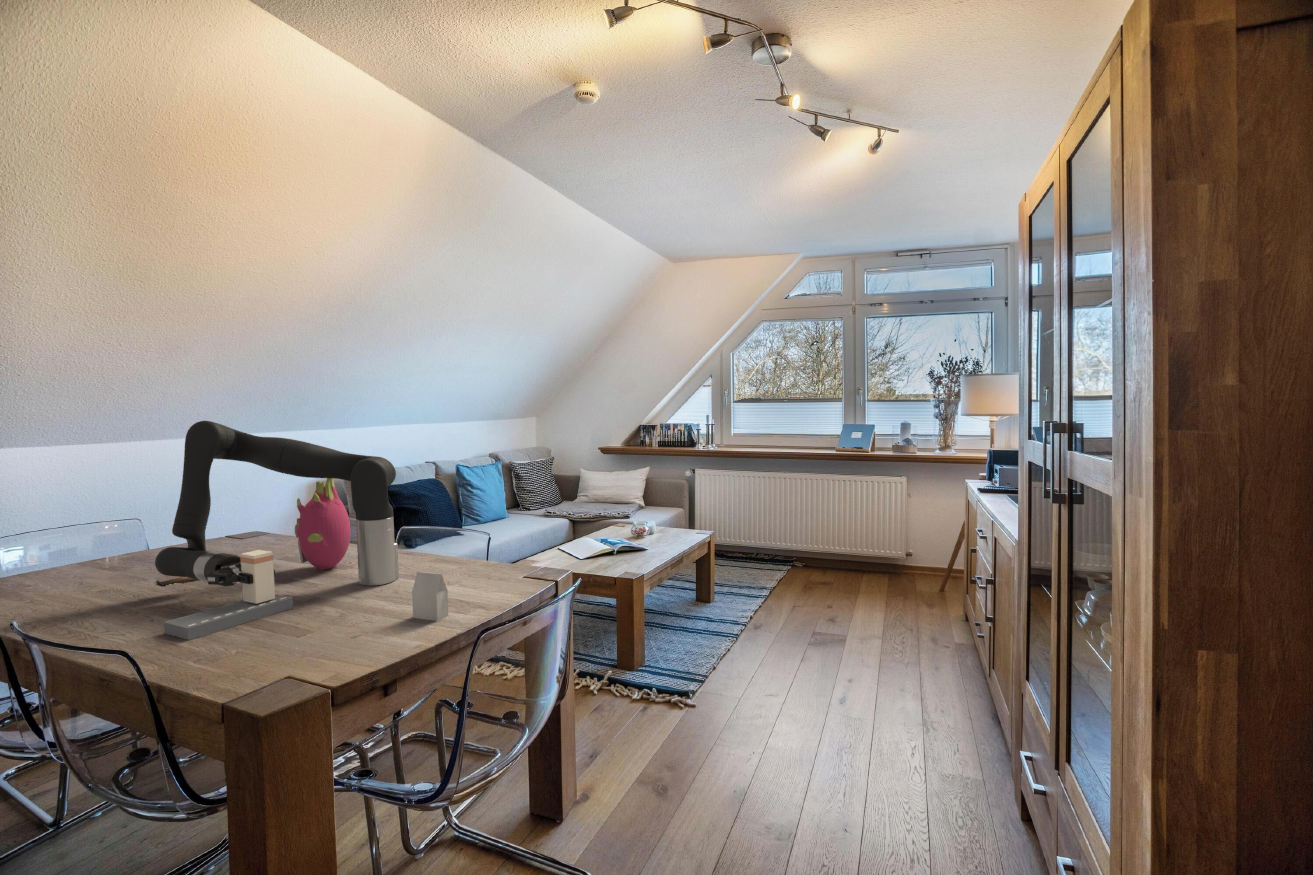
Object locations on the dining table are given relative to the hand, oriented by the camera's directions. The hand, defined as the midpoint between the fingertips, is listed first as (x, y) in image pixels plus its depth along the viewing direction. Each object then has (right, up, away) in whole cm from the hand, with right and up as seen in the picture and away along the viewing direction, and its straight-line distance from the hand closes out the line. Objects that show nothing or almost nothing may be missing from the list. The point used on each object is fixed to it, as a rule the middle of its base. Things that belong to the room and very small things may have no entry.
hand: (262, 576), depth 156 cm
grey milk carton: (+40, -8, -4) cm, 41 cm away
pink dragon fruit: (-5, -6, +40) cm, 41 cm away
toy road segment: (-4, -9, -4) cm, 11 cm away
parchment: (-35, -7, +36) cm, 51 cm away
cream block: (-1, -6, +1) cm, 6 cm away
